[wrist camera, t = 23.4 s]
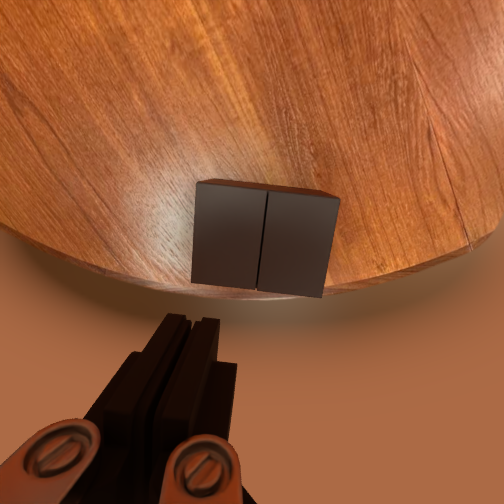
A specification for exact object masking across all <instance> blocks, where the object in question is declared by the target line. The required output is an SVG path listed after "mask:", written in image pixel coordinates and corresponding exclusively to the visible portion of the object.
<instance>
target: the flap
mask: <svg viewBox="0 0 504 504" xmlns="http://www.w3.org/2000/svg"><path fill="white" fill-rule="evenodd" d="M266 197H267V190H258V189H249V188H241V187H232V186H223V185H214V184H205V183H196V197H195V215H194V234H193V252H192V271H191V283H197V284H206V285H215V286H224V287H234V288H243V289H252V290H255V288H256V280H257V271H258V263H259V255H260V247H261V238H262V230H263V222H264V213H265V205H266Z"/></svg>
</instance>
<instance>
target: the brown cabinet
mask: <svg viewBox="0 0 504 504" xmlns="http://www.w3.org/2000/svg"><path fill="white" fill-rule="evenodd" d="M197 183H205V184H214V185H223V186H232V187H241V188H249V189H258V190H267V197H266V205H265V213H264V222H263V230H262V238H261V247H260V255H259V263H258V271H257V280H256V288H257V291H264V292H273V293H281V294H290V295H298V296H307V297H315V298H322V294H323V289H324V283H325V278H326V273H327V268H328V262H329V257H330V252H331V247H332V241H333V236H334V231H335V226H336V220H337V215H338V210H339V204H340V199H339V198H338V197H336V196H333V195H331V194H328V193H326V192H323V191H321V190H312V189H303V188H294V187H285V186H277V185H268V184H259V183H250V182H241V181H232V180H224V179H215V178H214V179H209V180H204V181H199V182H197Z"/></svg>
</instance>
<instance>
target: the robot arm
mask: <svg viewBox="0 0 504 504" xmlns="http://www.w3.org/2000/svg"><path fill="white" fill-rule="evenodd" d="M191 326H192V322H191V320H186V315H179V314H172V313H168V314H167V315H166V317H165V318H164V320H163V321H162V323H161V324H160V326H159V327H158V329H157V330H156V331H155V333H154V334H153V336H152V338H151V339H150V341H149V342H148V344H147V345H146V347H145V348H144V349H143V351H142V352H136V351H134V352H132V353H131V354H130V355H129V356H128V357H127V359H126V360H125V362H124V363H123V364H122V366H121V367H120V368H119V370H118V371H117V373H116V374H115V375H114V377H113V378H112V379H111V381H110V382H109V383H108V385H107V386H106V388H105V389H104V390H103V392H102V393H101V394H100V396H99V397H98V399H97V400H96V401H95V403H94V404H93V405H92V407H91V408H90V410H89V411H88V412H87V414H86V415H85V416H84V418H83V419H77V418H75V419H67V420H62V421H59V422H56V423H53V424H51V425H49V426H47V427H45V428H43V429H41V430H39V431H38V432H37V433H35V434H34V435H33V436H32V437H30V438H29V439H28V440H27V441H26V442H25V443H23V444H22V445H21V446H20V447H19V448H18V449H17V450H16V451H15V452H14V453H13V454H12V455H11V456H10V457H9V458H8V459H6V461H4V462H3V463H2V464H1V465H0V504H257V503H256V502H255V501H254V500H253V498H252V497H251V496H250V495H249V493H247V491H246V489H245V488H244V487H243V486H242V483H241V469H240V462H239V458H238V454H237V453H236V451H235V449H234V448H233V446H232V445H231V444H229V443H228V438H229V430H230V423H231V415H232V407H233V399H234V391H235V381H236V373H237V363H228V362H219V361H217V351H218V339H219V329H220V319H214V318H205V317H203V318H202V321H196V322H195V324H194V326H193V328H192V330H191Z"/></svg>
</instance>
